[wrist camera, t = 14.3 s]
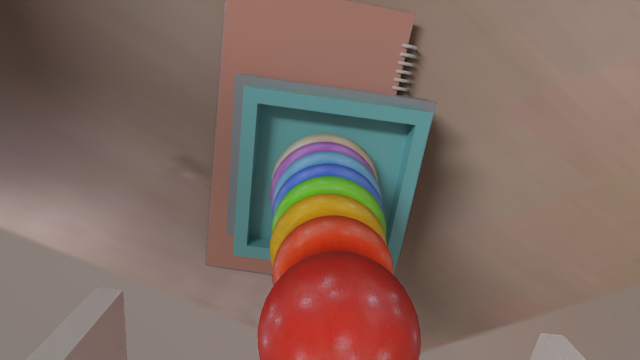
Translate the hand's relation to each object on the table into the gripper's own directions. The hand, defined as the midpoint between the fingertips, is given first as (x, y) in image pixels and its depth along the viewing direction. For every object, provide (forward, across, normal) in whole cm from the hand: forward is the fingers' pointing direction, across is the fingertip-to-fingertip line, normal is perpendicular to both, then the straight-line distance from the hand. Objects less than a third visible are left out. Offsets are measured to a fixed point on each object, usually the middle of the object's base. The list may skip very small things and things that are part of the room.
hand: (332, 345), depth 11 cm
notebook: (+25, -2, 0) cm, 25 cm away
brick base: (+22, 0, 0) cm, 22 cm away
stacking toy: (+17, 0, 0) cm, 17 cm away
